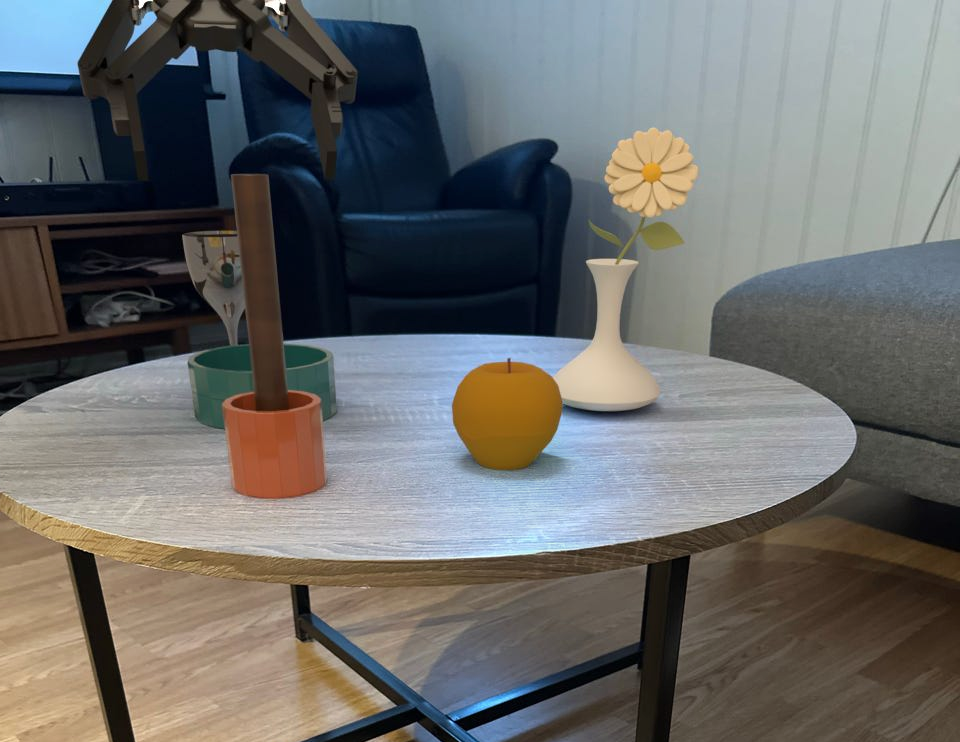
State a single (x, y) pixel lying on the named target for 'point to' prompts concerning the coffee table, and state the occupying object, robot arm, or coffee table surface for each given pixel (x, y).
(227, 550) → the coffee table surface
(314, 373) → the bowl
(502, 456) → the apple
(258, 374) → the stick
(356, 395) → the coffee table surface
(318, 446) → the crock
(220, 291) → the wine glass
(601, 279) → the flower in vase
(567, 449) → the coffee table surface
